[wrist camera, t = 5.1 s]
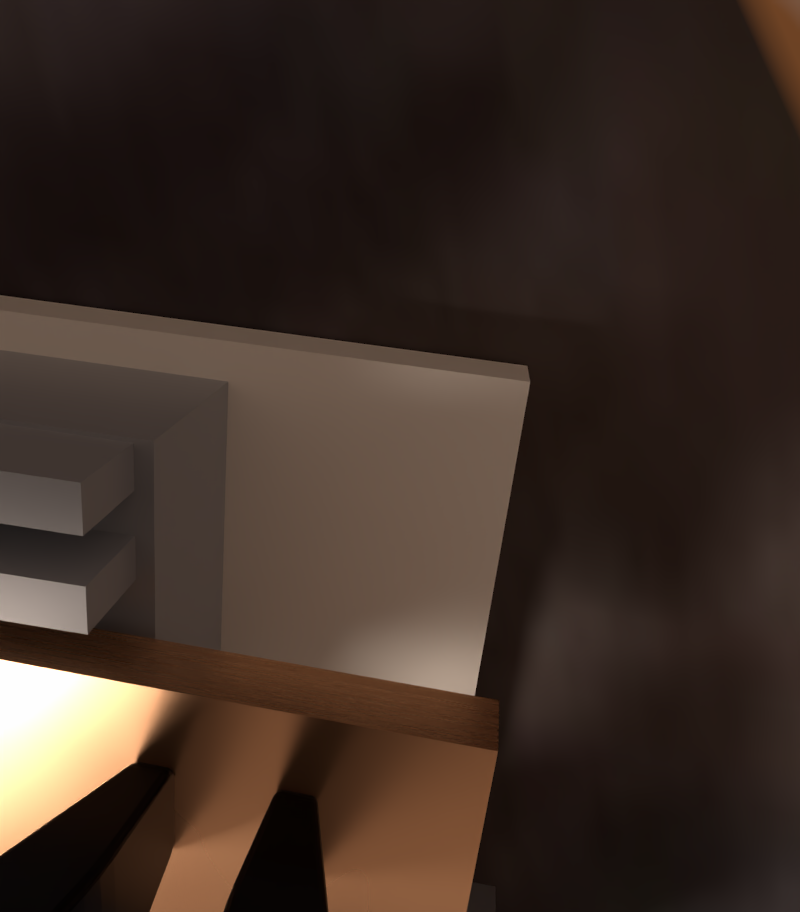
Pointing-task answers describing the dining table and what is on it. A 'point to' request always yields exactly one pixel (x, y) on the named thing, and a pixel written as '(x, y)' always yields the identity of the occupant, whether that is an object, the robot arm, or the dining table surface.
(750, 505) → the dining table surface
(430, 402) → the dock
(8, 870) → the robot arm
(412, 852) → the wooden board
